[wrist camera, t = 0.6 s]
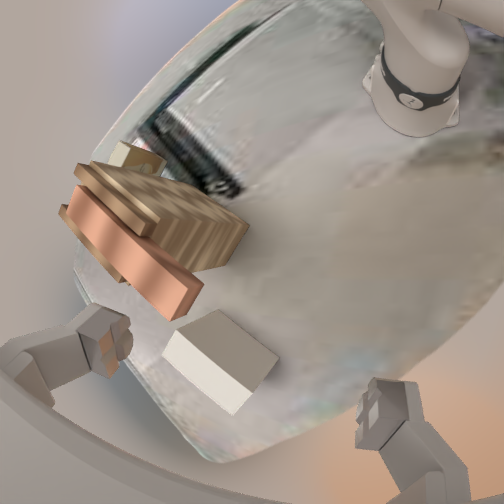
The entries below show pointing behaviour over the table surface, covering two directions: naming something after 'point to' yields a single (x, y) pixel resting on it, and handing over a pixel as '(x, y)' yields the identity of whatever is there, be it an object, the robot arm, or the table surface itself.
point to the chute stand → (162, 216)
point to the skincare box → (136, 159)
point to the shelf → (220, 359)
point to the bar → (135, 256)
